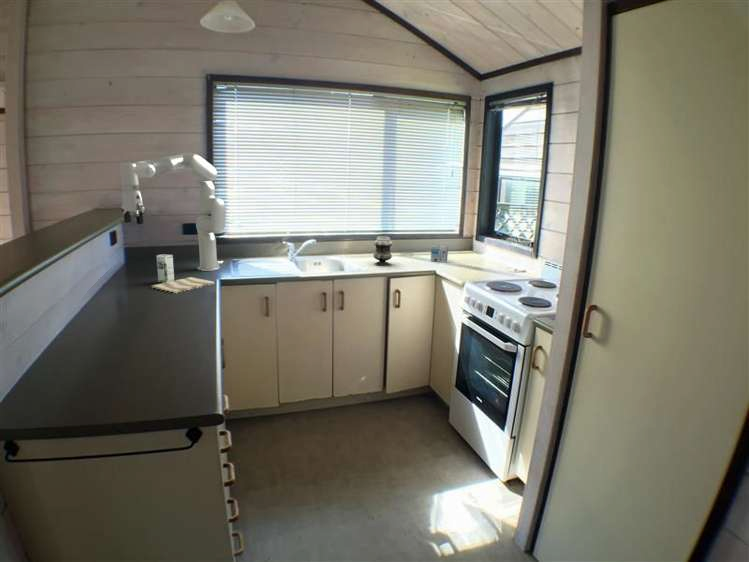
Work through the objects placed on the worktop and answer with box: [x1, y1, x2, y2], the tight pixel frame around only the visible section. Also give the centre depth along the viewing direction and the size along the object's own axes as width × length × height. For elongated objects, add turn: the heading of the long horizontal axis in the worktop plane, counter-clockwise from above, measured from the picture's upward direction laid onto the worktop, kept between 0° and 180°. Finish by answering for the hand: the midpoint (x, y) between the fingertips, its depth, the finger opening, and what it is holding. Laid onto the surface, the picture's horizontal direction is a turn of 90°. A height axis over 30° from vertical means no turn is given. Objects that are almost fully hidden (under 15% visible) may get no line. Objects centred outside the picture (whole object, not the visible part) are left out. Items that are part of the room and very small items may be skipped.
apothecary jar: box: [373, 235, 393, 267], centre depth 309 cm, size 12×12×18 cm
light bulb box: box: [430, 244, 449, 264], centre depth 325 cm, size 11×7×11 cm, turn 73°
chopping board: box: [150, 276, 215, 294], centre depth 243 cm, size 24×18×1 cm
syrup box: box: [156, 254, 175, 284], centre depth 248 cm, size 6×6×14 cm
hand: (134, 223), depth 238 cm, fingers open, 9 cm apart
